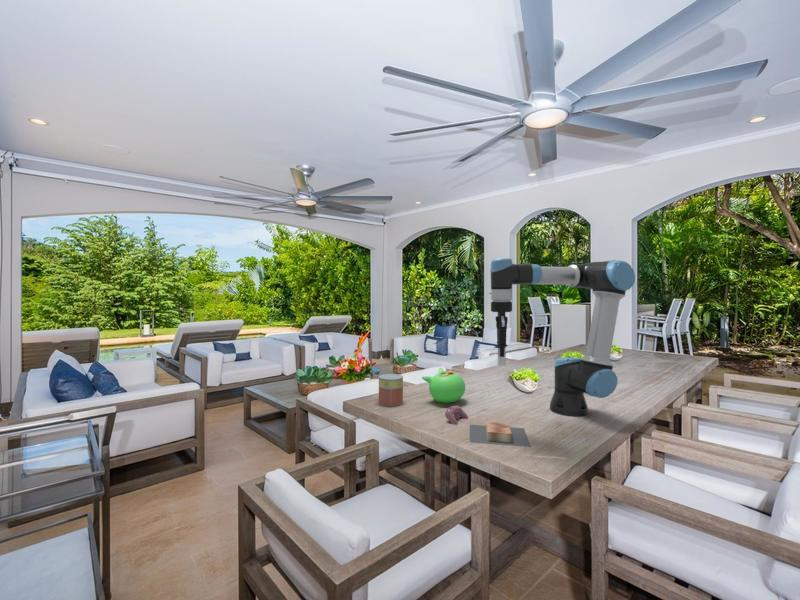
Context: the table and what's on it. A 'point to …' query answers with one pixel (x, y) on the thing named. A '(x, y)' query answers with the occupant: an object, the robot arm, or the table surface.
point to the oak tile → (498, 432)
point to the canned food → (390, 389)
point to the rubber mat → (480, 436)
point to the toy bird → (446, 386)
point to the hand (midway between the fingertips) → (501, 364)
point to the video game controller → (455, 414)
